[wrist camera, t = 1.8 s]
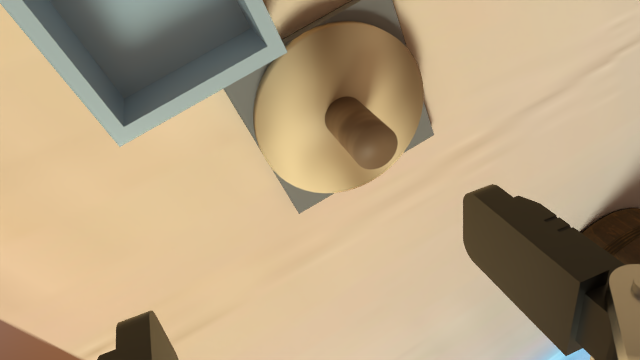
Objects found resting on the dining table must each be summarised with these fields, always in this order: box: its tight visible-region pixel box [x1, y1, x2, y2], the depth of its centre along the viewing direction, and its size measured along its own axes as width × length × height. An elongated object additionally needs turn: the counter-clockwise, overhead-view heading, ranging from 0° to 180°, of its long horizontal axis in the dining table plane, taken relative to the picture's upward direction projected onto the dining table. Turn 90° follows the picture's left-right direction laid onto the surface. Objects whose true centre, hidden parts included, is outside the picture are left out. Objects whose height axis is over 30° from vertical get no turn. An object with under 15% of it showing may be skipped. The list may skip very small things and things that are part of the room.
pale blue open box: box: [0, 0, 287, 147], centre depth 24 cm, size 10×10×5 cm
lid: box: [253, 21, 424, 193], centre depth 30 cm, size 12×12×6 cm
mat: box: [223, 0, 434, 214], centre depth 33 cm, size 12×12×1 cm
